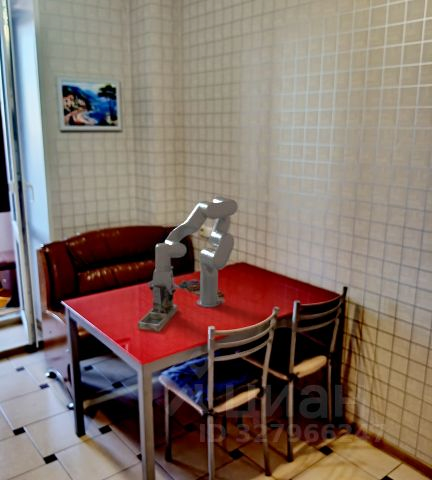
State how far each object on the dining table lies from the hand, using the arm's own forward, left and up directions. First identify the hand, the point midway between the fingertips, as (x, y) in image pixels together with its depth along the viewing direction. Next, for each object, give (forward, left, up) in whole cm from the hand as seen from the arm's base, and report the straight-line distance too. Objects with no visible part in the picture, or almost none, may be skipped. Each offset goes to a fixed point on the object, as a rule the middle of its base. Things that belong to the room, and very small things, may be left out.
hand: (163, 299), depth 237 cm
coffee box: (0, 0, -8) cm, 8 cm away
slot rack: (0, +6, -8) cm, 10 cm away
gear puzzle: (-9, -41, -9) cm, 43 cm away
